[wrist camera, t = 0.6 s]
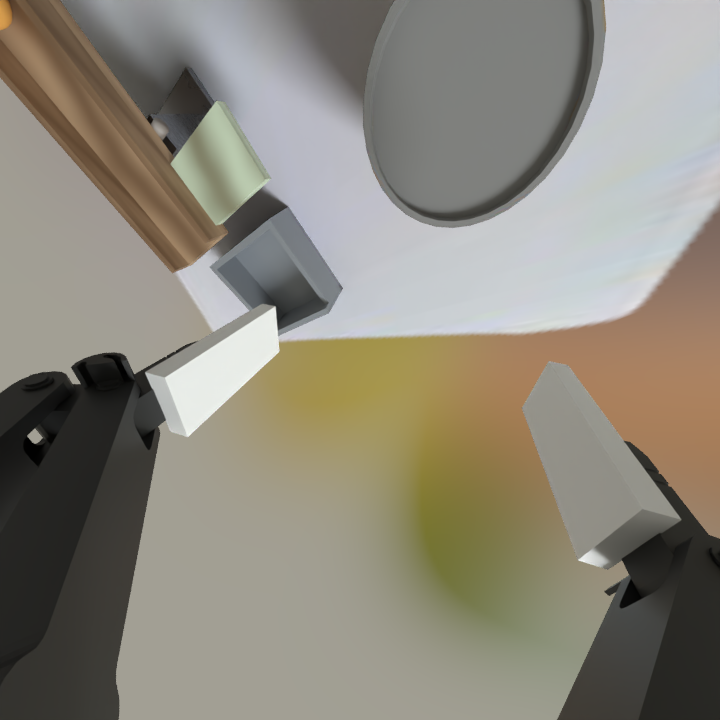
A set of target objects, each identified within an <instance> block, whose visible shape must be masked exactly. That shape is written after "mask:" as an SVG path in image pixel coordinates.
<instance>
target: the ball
mask: <svg viewBox="0 0 720 720" xmlns="http://www.w3.org/2000/svg"><path fill="white" fill-rule="evenodd" d="M11 22H12V10H11V6H10V3H9V1H8V0H0V30H3V29H6V28H7V27H9V26H10V24H11Z"/></svg>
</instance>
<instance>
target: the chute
mask: <svg viewBox="0 0 720 720" xmlns="http://www.w3.org/2000/svg"><path fill="white" fill-rule="evenodd" d="M8 1H9V3H10V6H11V10H12V22H11V24H10V26H9V27H7V28H6V29H3V30H0V78H1V79H2V80H3V81H4V82H5V83H6V84H7V86H8V87H9V88H10V89H11V90H12V91H13V92H14V93H15V95H16V96H17V97H18V98H19V99H20V100H21V101H22V103H23V104H24V105H25V106H26V107H27V108H28V110H29V111H30V112H31V113H32V114H33V115H34V116H35V117H36V119H37V120H38V121H39V122H40V123H41V124H42V125H43V126H44V128H45V129H46V130H47V131H48V132H49V133H50V135H51V136H52V137H53V138H54V139H55V140H56V141H57V142H58V144H59V145H60V146H61V147H62V148H63V149H64V150H65V152H66V153H67V154H68V155H69V156H70V157H71V158H72V160H73V161H74V162H75V163H76V164H77V165H78V166H79V167H80V169H81V170H82V171H83V172H84V173H85V174H86V175H87V177H88V178H89V179H90V180H91V181H92V182H93V183H94V185H95V186H96V187H97V188H98V189H99V190H100V191H101V193H102V194H103V195H104V196H105V197H106V198H107V199H108V201H109V202H110V203H111V204H112V205H113V206H114V207H115V208H116V210H117V211H118V212H119V213H120V214H121V215H122V216H123V217H124V219H125V220H126V221H127V222H128V223H129V224H130V226H131V227H132V228H133V229H134V230H135V231H136V232H137V233H138V234H139V236H140V237H141V238H142V239H143V240H144V241H145V242H146V244H147V245H148V246H149V247H150V248H151V249H152V250H153V252H154V253H155V254H156V255H157V256H158V257H159V259H160V260H161V261H162V262H163V263H164V264H165V265H166V266H167V268H168V269H169V270H170V271H171V272H172V273H174V272H176V271H179V270H181V269H183V268H186V267H188V266H190V265H192V264H193V263H195V262H196V261H197V260H198V259H199V258H200V257H201V256H203V255H204V254H205V253H206V252H207V251H208V250H210V249H211V248H212V247H213V246H214V245H215V244H216V243H218V242H219V241H220V240H221V239H222V238H223V237H224V236H226V235H227V234H228V233H229V232H228V231H227V229H226V228H225V227H224V225H223V224H222V223H224V222H225V221H226V220H227V219H228V218H229V217H230V216H231V215H232V214H233V213H234V212H236V211H237V210H238V209H239V208H240V207H241V206H242V205H243V204H244V203H245V202H246V201H247V200H249V199H250V198H251V197H252V196H253V195H254V194H255V193H256V192H257V191H258V190H259V189H260V188H262V187H263V186H264V185H265V184H266V183H267V182H268V181H269V180H270V179H271V178H270V176H269V174H268V173H267V171H266V169H265V168H264V166H263V165H262V163H261V161H260V160H259V158H258V156H257V155H256V153H255V151H254V150H253V148H252V146H251V145H250V143H249V141H248V140H247V138H246V136H245V135H244V133H243V131H242V130H241V128H240V126H239V125H238V123H237V122H236V120H235V118H234V117H233V115H232V113H231V112H230V110H229V108H228V107H227V105H226V103H225V102H221V101H216V102H215V103H214V105H213V106H212V108H211V109H210V110H209V112H208V113H207V114H206V116H205V117H204V119H203V120H202V121H201V123H200V124H199V125H198V127H197V128H196V129H195V131H194V132H193V134H192V135H191V136H190V138H189V139H188V140H187V142H186V143H185V145H184V146H183V147H182V149H181V150H180V151H179V153H178V154H177V155H176V157H175V158H174V156H173V155H172V154H171V152H170V151H169V150H168V148H167V147H166V145H165V144H164V143H163V139H164V138H165V136H166V135H167V133H168V132H169V128H168V126H167V125H166V123H165V122H164V121H162V120H161V119H159V118H154V120H153V121H152V123H151V125H150V123H149V122H148V121H147V119H146V118H145V117H144V115H143V114H142V112H141V111H140V110H139V108H138V107H137V106H136V104H135V103H134V102H133V100H132V99H131V97H130V96H129V95H128V93H127V92H126V91H125V89H124V88H123V86H122V85H121V84H120V82H119V81H118V80H117V78H116V77H115V75H114V74H113V73H112V71H111V70H110V69H109V67H108V66H107V64H106V63H105V62H104V60H103V59H102V58H101V56H100V55H99V53H98V52H97V51H96V49H95V48H94V47H93V45H92V44H91V42H90V41H89V40H88V38H87V37H86V36H85V34H84V33H83V31H82V30H81V29H80V27H79V26H78V25H77V23H76V22H75V20H74V19H73V18H72V16H71V15H70V14H69V12H68V11H67V9H66V8H65V7H64V5H63V4H62V3H61V1H60V0H8Z"/></svg>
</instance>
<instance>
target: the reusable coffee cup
mask: <svg viewBox="0 0 720 720" xmlns="http://www.w3.org/2000/svg"><path fill="white" fill-rule="evenodd" d="M605 33H606V20H605V7H604V0H395V1H394V2H393V4H392V5H391V7H390V9H389V11H388V14H387V16H386V18H385V21H384V23H383V25H382V27H381V30H380V32H379V34H378V37H377V39H376V42H375V46H374V49H373V53H372V56H371V60H370V64H369V67H368V71H367V78H366V85H365V92H364V99H363V128H364V135H365V142H366V149H367V153H368V156H369V159H370V163H371V166H372V169H373V172H374V174H375V176H376V178H377V180H378V182H379V184H380V186H381V188H382V189H383V191H384V192H385V193H386V195H387V196H388V197H389V199H390V200H391V201H392V202H393V204H395V205H396V206H397V207H398V208H399V209H400V210H402V211H403V212H404V213H405V214H406V215H408V216H410V217H412V218H414V219H415V220H417V221H419V222H422V223H425V224H429V225H432V226H436V227H449V228H455V227H462V226H470V225H473V224H477V223H480V222H483V221H486V220H489V219H491V218H493V217H495V216H497V215H499V214H501V213H502V212H504V211H506V210H508V209H510V208H511V207H512V206H514V205H515V204H516V203H518V202H519V201H521V200H522V199H523V198H525V197H526V196H527V195H528V194H529V193H531V192H532V191H533V190H534V189H535V188H536V187H537V186H538V185H539V184H540V183H541V182H542V181H543V180H544V179H545V178H546V177H547V176H548V174H549V173H550V172H551V171H552V169H553V168H554V167H555V165H556V164H557V163H558V162H559V160H560V159H561V158H562V157H563V155H564V154H565V152H566V150H567V149H568V147H569V145H570V144H571V142H572V140H573V139H574V137H575V135H576V134H577V132H578V130H579V129H580V127H581V124H582V122H583V120H584V117H585V115H586V112H587V110H588V108H589V105H590V103H591V101H592V98H593V96H594V92H595V88H596V84H597V81H598V77H599V73H600V70H601V66H602V61H603V51H604V42H605Z"/></svg>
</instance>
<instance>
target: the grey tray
mask: <svg viewBox="0 0 720 720" xmlns="http://www.w3.org/2000/svg"><path fill="white" fill-rule="evenodd" d="M210 268H211V269H212V270H213V271H214V273H215V274H216V275H217V276H218V277H219V278H220V279H221V280H222V281H223V282H224V283H225V284H226V286H227V287H228V288H229V289H230V290H231V291H232V292H233V293H234V294H235V295H236V296H237V297H238V299H239V300H240V301H241V302H242V303H243V304H244V305H245V306H246V307H247V308H248V309H249V310H250V311H251V310H252V309H254V308H256V307H257V306H259V305H261V304H267V305H272V306H276V318H277V329H278V336H279V335H281V334H283V333H286V332H288V331H290V330H292V329H295V328H297V327H299V326H301V325H303V324H306V323H308V322H310V321H312V320H314V319H317V318H319V317H321V316H323V315H326V314H328V313H329V312H330V310H331V309H332V307H333V305H334V303H335V301H336V300H337V298H338V296H339V294H340V293H341V291H342V289H343V288H342V286H341V285H340V283H339V282H338V280H337V279H336V277H335V276H334V274H333V273H332V271H331V270H330V268H329V267H328V265H327V264H326V262H325V261H324V259H323V258H322V256H321V255H320V253H319V252H318V250H317V249H316V247H315V246H314V244H313V243H312V241H311V240H310V238H309V237H308V235H307V234H306V232H305V231H304V229H303V228H302V226H301V225H300V223H299V222H298V220H297V219H296V217H295V216H294V214H293V213H292V211H291V210H290V208H289V207H287V208H285V209H284V210H282V211H281V212H279V213H278V214H276V215H274V216H273V217H271V218H270V219H268V220H267V221H266V222H265V223H263V224H262V225H261V226H260V227H258V228H257V229H256V230H255V231H253V232H252V233H251V234H250V235H248V236H247V237H246V238H245V239H244V240H242V241H241V242H240V243H239V244H237V245H236V246H235V247H234V248H232V249H231V250H230V251H229V252H227V253H226V254H225V255H224V256H222V257H221V258H220V259H219V260H218V261H216V262H215V263H214V264H213V265H211V266H210Z"/></svg>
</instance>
